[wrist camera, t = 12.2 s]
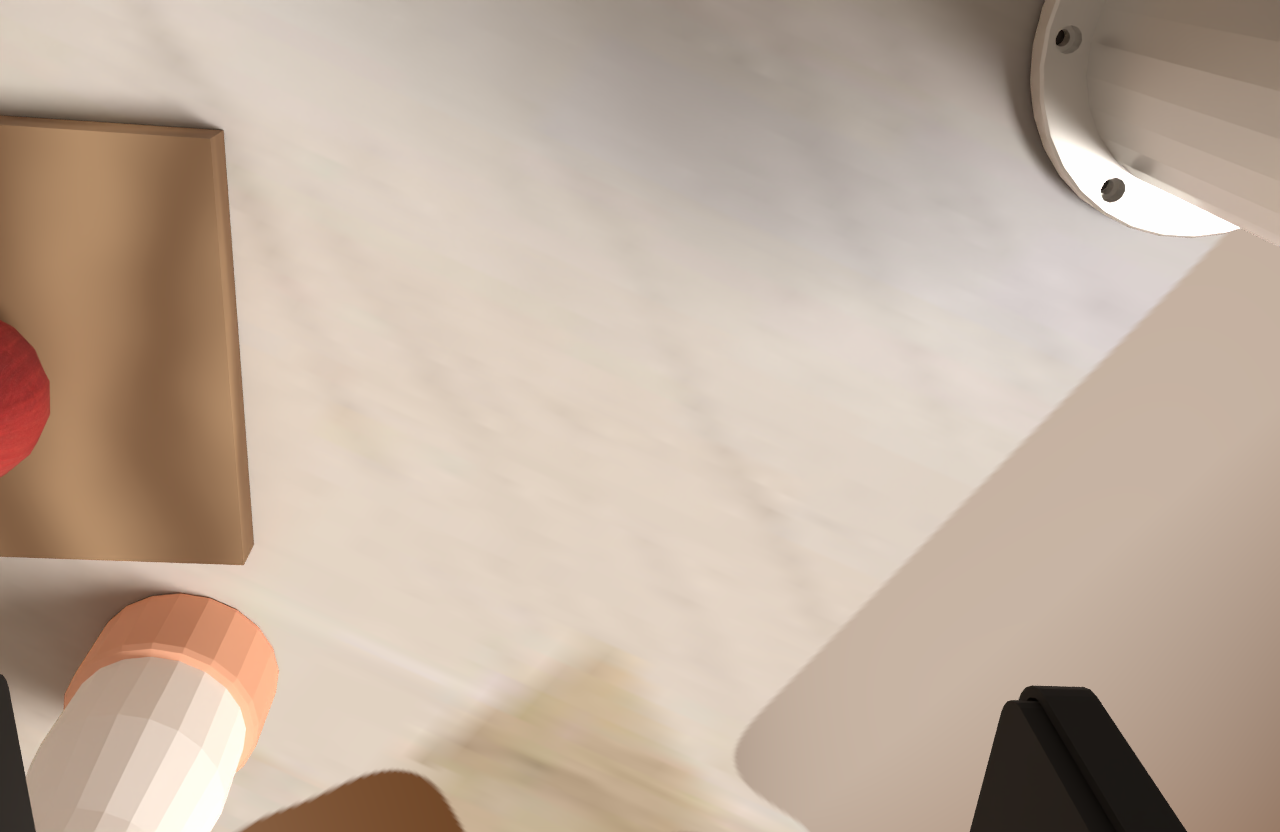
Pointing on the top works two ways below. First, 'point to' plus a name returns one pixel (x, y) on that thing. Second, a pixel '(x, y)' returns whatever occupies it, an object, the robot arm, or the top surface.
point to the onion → (20, 398)
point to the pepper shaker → (155, 721)
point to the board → (124, 343)
